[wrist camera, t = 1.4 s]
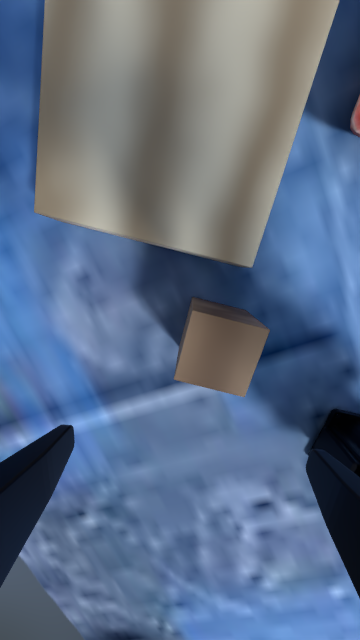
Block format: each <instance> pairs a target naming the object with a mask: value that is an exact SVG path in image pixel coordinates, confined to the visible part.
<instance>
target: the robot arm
mask: <svg viewBox="0 0 360 640" xmlns="http://www.w3.org/2000/svg"><path fill="white" fill-rule="evenodd" d="M337 414H338V415H337ZM73 448H74V429H73V426H71V425H60V426H58V427H57V428H55V429H53V430H52V431H50V432H49V433H47V434H45V435H44V436H42V437H41V438H39V439H37V440H36V441H34V442H32V443H31V444H29V445H28V446H26V447H24V448H23V449H21V450H20V451H18V452H16V453H15V454H13V455H12V456H10V457H8V458H7V459H5V460H4V461H2V462H0V587H1V586H2V584H3V582H4V580H5V578H6V576H7V575H8V573H9V571H10V569H11V568H12V566H13V564H14V562H15V561H16V559H17V557H18V555H19V553H20V552H21V550H22V548H23V546H24V545H25V543H26V541H27V539H28V537H29V536H30V534H31V532H32V530H33V529H34V527H35V525H36V523H37V521H38V520H39V518H40V516H41V514H42V512H43V511H44V509H45V507H46V505H47V504H48V502H49V500H50V498H51V496H52V494H53V492H54V490H55V488H56V486H57V483H58V481H59V479H60V477H61V475H62V472H63V470H64V468H65V466H66V464H67V462H68V459H69V457H70V455H71V453H72V451H73ZM306 472H307V475H308V478H309V481H310V483H311V486H312V489H313V491H314V494H315V497H316V499H317V502H318V505H319V508H320V510H321V513H322V516H323V518H324V521H325V523H326V526H327V528H328V530H329V533H330V535H331V537H332V539H333V541H334V544H335V546H336V548H337V550H338V552H339V554H340V557H341V559H342V561H343V563H344V565H345V568H346V570H347V572H348V574H349V576H350V578H351V581H352V583H353V585H354V587H355V589H356V591H357V594H358V596H359V598H360V415H359V414H355V413H351V412H347V411H343V410H339V409H334V410H332V411H331V413H330V415H329V417H328V419H327V421H326V423H325V425H324V426H323V428H322V430H321V432H320V434H319V436H318V438H317V440H316V442H315V444H314V446H313V448H312V450H311V451H310V453H309V457H308V460H307V464H306Z"/></svg>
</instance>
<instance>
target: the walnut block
mask: <svg viewBox="0 0 360 640" xmlns="http://www.w3.org/2000/svg"><path fill="white" fill-rule="evenodd" d="M269 332H270V330H269V329H268V328H267V327H266V326H265V325H263V324H262V323H261V322H260V321H258V320H257V319H256V318H255V317H254V316H252V315H251V314H250V313H249V312H247V311H246V310H243V309H239V308H235V307H231V306H227V305H223V304H219V303H215V302H211V301H207V300H203V299H199V298H195V297H192V300H191V304H190V308H189V311H188V315H187V319H186V323H185V327H184V330H183V334H182V338H181V342H180V346H179V351H178V357H177V364H176V370H175V376H174V380H178V381H182V382H186V383H190V384H194V385H198V386H202V387H206V388H210V389H214V390H218V391H222V392H226V393H230V394H234V395H238V396H242V397H245V395H246V392H247V389H248V387H249V384H250V382H251V379H252V376H253V374H254V371H255V368H256V366H257V363H258V361H259V358H260V355H261V353H262V350H263V347H264V345H265V342H266V340H267V337H268V334H269Z"/></svg>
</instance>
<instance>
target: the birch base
mask: <svg viewBox="0 0 360 640" xmlns="http://www.w3.org/2000/svg"><path fill="white" fill-rule="evenodd" d="M338 3H339V0H45V9H44V29H43V49H42V68H41V88H40V108H39V127H38V147H37V167H36V187H35V206H34V212H35V213H38V214H41V215H44V216H47V217H49V218H52V219H55V220H58V221H61V222H65V223H69V224H73V225H77V226H81V227H85V228H89V229H93V230H97V231H101V232H105V233H109V234H113V235H117V236H120V237H124V238H128V239H132V240H136V241H140V242H144V243H148V244H152V245H156V246H160V247H164V248H168V249H172V250H176V251H180V252H184V253H187V254H191V255H195V256H199V257H203V258H207V259H211V260H215V261H219V262H223V263H227V264H231V265H235V266H239V267H248V268H252V266H253V263H254V260H255V257H256V254H257V251H258V248H259V245H260V242H261V239H262V236H263V233H264V230H265V227H266V224H267V221H268V218H269V214H270V211H271V208H272V205H273V202H274V199H275V196H276V193H277V190H278V187H279V184H280V181H281V178H282V175H283V172H284V169H285V166H286V162H287V159H288V156H289V153H290V150H291V147H292V144H293V141H294V138H295V135H296V132H297V129H298V126H299V123H300V120H301V117H302V114H303V110H304V107H305V104H306V101H307V98H308V95H309V92H310V89H311V86H312V83H313V80H314V77H315V74H316V71H317V68H318V65H319V62H320V58H321V55H322V52H323V49H324V46H325V43H326V40H327V37H328V34H329V31H330V28H331V25H332V22H333V19H334V16H335V13H336V9H337V6H338Z"/></svg>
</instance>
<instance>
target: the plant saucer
mask: <svg viewBox="0 0 360 640" xmlns="http://www.w3.org/2000/svg"><path fill="white" fill-rule="evenodd" d="M350 129H351V131H352V132H353V134H354V135H356V136H358V137H360V95H359V98H358V100H357V103H356V105H355V108H354V110H353V113H352V116H351V120H350Z"/></svg>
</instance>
